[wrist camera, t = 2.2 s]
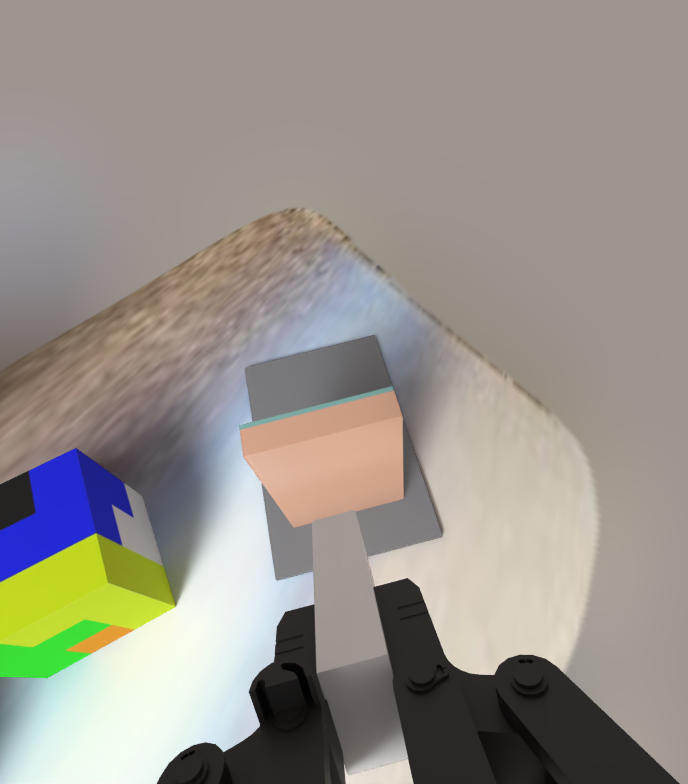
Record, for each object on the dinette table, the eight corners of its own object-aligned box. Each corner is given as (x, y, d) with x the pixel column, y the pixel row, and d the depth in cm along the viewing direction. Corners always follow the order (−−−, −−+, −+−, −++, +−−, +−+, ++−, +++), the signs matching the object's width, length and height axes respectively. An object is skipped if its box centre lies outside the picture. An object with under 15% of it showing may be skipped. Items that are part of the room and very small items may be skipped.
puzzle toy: (142, 496, 42) (76, 447, 33) (176, 606, 37) (107, 583, 28) (28, 554, 40) (-72, 518, 32) (47, 678, 35) (-66, 675, 27)
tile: (403, 498, 39) (402, 415, 27) (293, 527, 38) (243, 456, 27) (396, 475, 40) (392, 386, 28) (289, 503, 40) (239, 425, 28)
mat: (441, 537, 37) (442, 535, 37) (277, 580, 37) (275, 579, 37) (374, 338, 48) (374, 334, 47) (246, 370, 48) (244, 367, 47)
